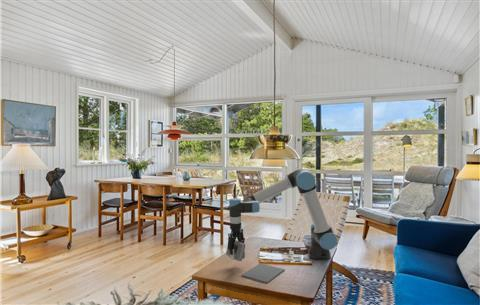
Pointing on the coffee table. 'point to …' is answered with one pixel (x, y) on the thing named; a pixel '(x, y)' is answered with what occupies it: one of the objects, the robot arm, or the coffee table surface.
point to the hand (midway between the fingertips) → (236, 257)
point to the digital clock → (237, 251)
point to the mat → (263, 273)
